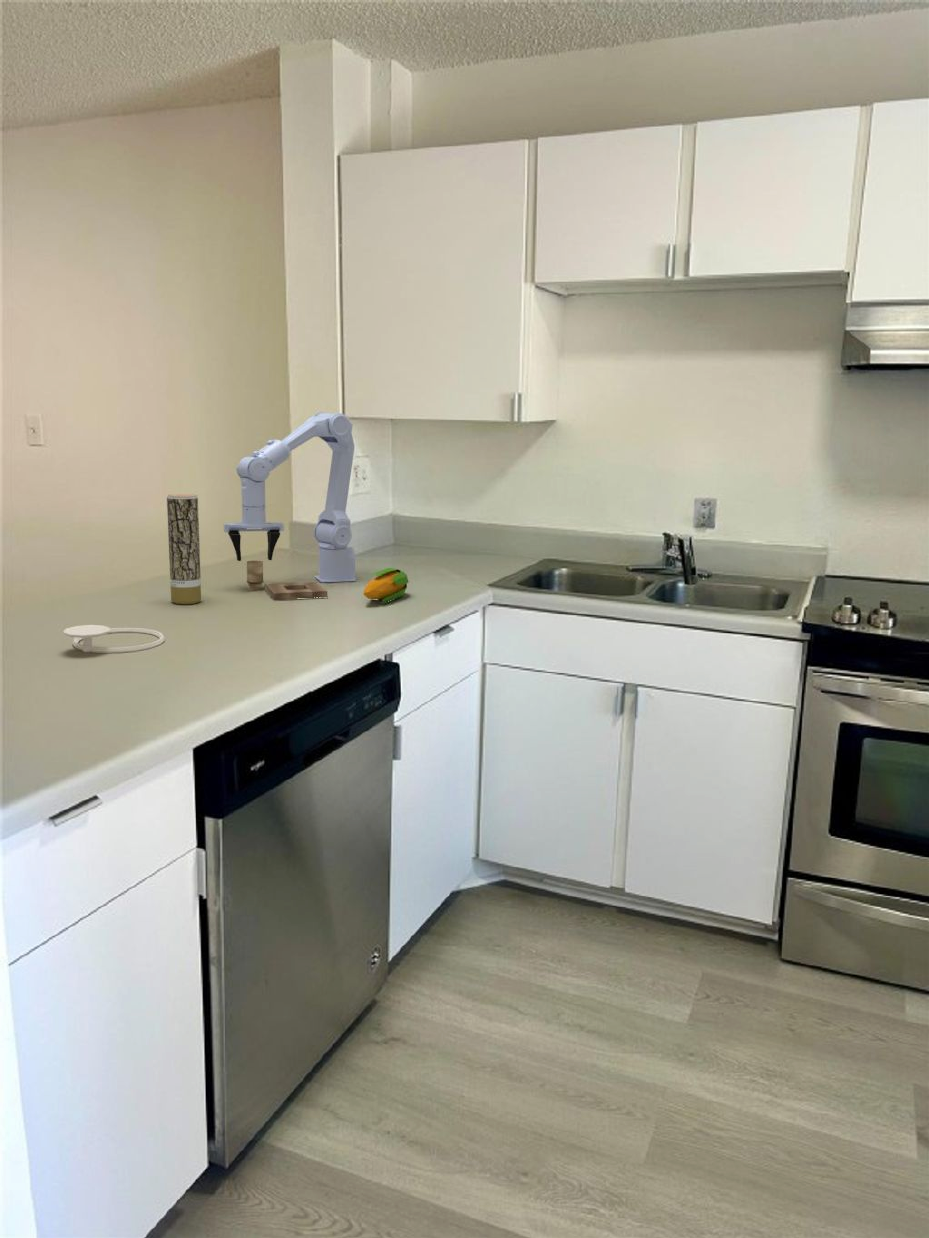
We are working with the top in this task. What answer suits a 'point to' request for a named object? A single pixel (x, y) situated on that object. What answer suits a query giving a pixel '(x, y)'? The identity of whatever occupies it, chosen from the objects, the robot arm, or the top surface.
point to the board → (295, 590)
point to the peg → (254, 575)
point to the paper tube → (184, 548)
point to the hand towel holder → (97, 630)
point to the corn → (387, 585)
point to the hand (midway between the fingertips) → (254, 559)
